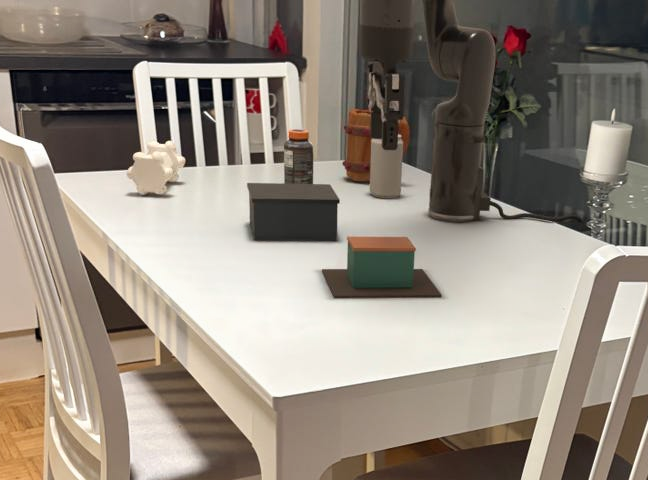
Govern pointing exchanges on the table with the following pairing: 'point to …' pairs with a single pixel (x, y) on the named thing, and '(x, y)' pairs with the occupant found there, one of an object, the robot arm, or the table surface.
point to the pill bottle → (298, 158)
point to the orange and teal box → (380, 262)
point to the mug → (364, 144)
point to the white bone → (155, 167)
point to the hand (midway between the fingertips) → (383, 143)
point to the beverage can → (386, 169)
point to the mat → (344, 288)
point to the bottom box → (293, 211)
